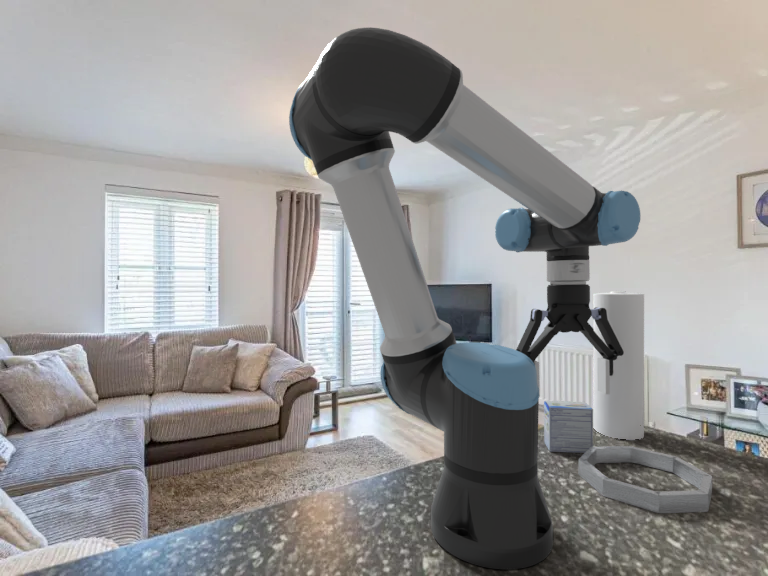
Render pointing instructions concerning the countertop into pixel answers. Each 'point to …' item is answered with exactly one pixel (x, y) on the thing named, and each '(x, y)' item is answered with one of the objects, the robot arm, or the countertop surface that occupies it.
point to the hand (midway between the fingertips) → (569, 393)
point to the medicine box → (568, 426)
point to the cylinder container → (621, 368)
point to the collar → (643, 496)
